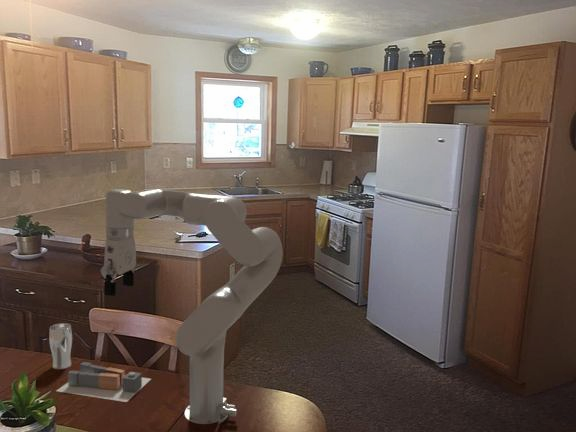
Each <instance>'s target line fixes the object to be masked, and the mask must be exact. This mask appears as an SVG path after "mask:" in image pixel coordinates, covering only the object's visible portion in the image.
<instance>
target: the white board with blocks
mask: <svg viewBox="0 0 576 432" xmlns="http://www.w3.org/2000/svg"><path fill="white" fill-rule="evenodd" d="M151 380H152V378H148V377H143V376H142V372H135V371H129V372H127V374H126V373H125V376H124V377H123V378H122V382H123V385H120V387H119V389H118V390H114V389H102V388H95V387H84V386H68V382H66V383H65V384H63V385H62V386H61V387H60V388H58V389H57V390H56V392H59V393H65V394H71V395H77V396H85V397H91V398H96V399H104V400H109V401H110V400H111V401H117V402H122V403H123V402H124V403H127V402H129V401H131V399H132V398H133V397H134V396H135V395H136V394H137V393H138V392H139V391H141V390H142V388H143V387H144V386H146V385H147V384H148V383H149V382H150V381H151Z"/></svg>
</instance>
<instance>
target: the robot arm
mask: <svg viewBox="0 0 576 432" xmlns="http://www.w3.org/2000/svg"><path fill="white" fill-rule="evenodd" d="M247 214H248V211H247V207H246V204H245V203H244V201H243V200H241V199H240V198H237V197H235V196H230V195H228V196H226V195H215V194H203V193H202V194H201V193H192V192H185V191H181V190H170V189H169V190H168V189H167V190H166V189H150V190H143V191H136V192H133V191H132V190H130V189H126V188H125V189H121V188H118V189H117V188H116V189H110V190H108V191H107V192H106V196H105V239H106V241H105V246H104V247H105V248H104V259H103V264H104V265H103V266H102V267H101V268H100V273H101V278H102V281H103V283H104V295H105V296H111V297H114V296H116V294H117V292H116V291H117V289H116V288H117V286H116V285H117V282H116V281H115V280H116V278H117V275H122V285H123V286H126V287H127V286H128V287H133V286H134V280H135V279H134V278H135V277H134V274H135V271H136V270H135V268H136V267H137V251H136V249H137V247H136V240H135V235H134V233H135V232H134V231H135V229H134V228H135V227H134V226H135V225H134V224H135V223H134V221H135V220H144V219H147V218H151V217H155V216H159V215H160V216H170V217H172V216H173V217H176V218H177V217H179V218H182V219H183V221H184V222H185V223H186V224H187V225H195V226H206V228H207V229H208V231H209V232H210V234H211V235H213V237H214V238H215V239H216V241H218V242H219V244H220V245H221V246H222V247H223V248H224V249H225V250H226V251H227V252H228V254H230V256H231V257H232V258H233V259H235V261H236V262H238V263H239V264H240V265H243V266H242V267H241V268H240V269H239V270H238V271H237V272H236V274H235V275H234V276H233V277H232V278H231V279H230V280H229V281H228V282H227V283H226V284H224V285H223V286H222V287H220V288H218V289H217V290H216V291H214V292H212V293H211V294H209V296H208V297H206V298H205V299H204V300H203V301H202V302H201V303H200V304H199V305H198V306H197V307H196V308H195V309H194V310H193V311H192V312H191V314H189V316H188V317H187V318H186V319H185V320H184V321H183V322H182V323H181V324H180V325H179V326H178V329H177V331H176V333H175V343H176V347H177V349H178V350H179V351H180V352H181V353H182V354H184V355H185V356H189V405H188V406H187V407H186V408H185V410H184V411H183V412H184V417H185V418H186V419H187V421H190V422H191V423H194V424H201V425H206V424H207V425H208V424H209V425H210V424H213V423H214V424H215V423H217V422H218V423H217V425H220V424H222V423H223V422H224V421H226V420H227V418H228V417H229V416H232V417H236V416H237V413H238V410H237V409H236V404H229V403H228V402H227V397H224V365H225V364H224V363H225V362H224V361H225V346H226V345H225V344H226V338H227V331H228V329H230V328H231V326H232V325H234V324H235V322H237V321H238V319H240V318H241V317H242V316H243V315H244V313H245V311H246V310H247V309H248V308H249V306H250V305H251V304H252V303H253V302H254V301H255V300H256V299H257V298H258V297H259V296H260V295H261V294H262V293H263V292H264V291H265V290H266V288H267V287H269V285H270V284H271V283H272V282H273V280H274V279H275V277H276V276H277V274H278V273H279V270H280V269H281V265H282V262H283V253H284V252H283V245H282V242H281V238H280V237H279V235H278V233H277V232H276V231H275V230H273V229H272V228H270V227H266V226H260V227H256V228H253V229H251V228H250V227H249V226H248V225H247V223H245V220H246V218H247Z"/></svg>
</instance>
